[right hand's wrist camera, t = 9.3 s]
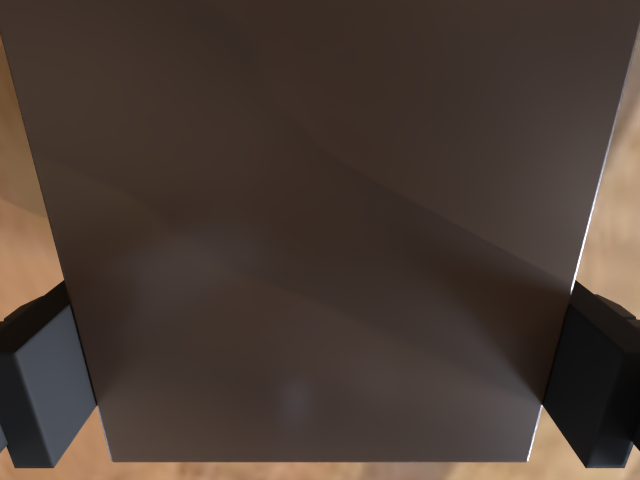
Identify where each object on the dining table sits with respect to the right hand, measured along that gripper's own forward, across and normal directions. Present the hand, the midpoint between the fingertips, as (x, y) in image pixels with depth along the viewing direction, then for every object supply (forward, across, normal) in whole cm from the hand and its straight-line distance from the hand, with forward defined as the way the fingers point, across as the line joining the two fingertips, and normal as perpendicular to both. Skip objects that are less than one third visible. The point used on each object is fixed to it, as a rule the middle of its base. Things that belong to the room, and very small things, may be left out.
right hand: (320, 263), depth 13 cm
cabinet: (+4, 0, -7) cm, 8 cm away
